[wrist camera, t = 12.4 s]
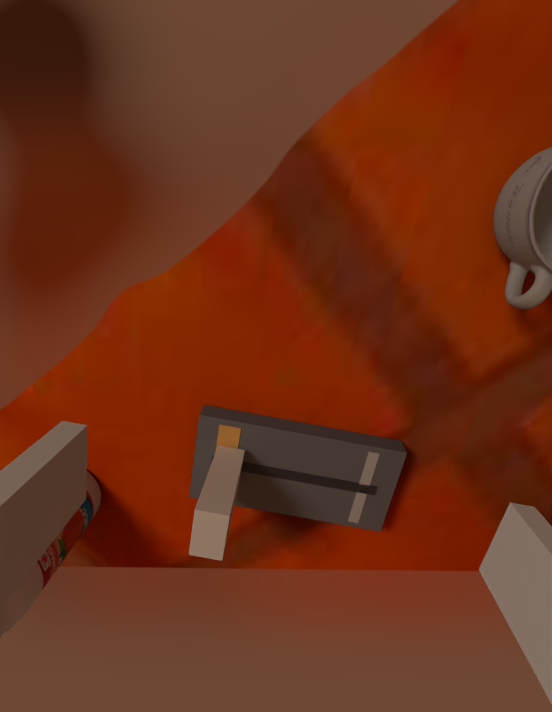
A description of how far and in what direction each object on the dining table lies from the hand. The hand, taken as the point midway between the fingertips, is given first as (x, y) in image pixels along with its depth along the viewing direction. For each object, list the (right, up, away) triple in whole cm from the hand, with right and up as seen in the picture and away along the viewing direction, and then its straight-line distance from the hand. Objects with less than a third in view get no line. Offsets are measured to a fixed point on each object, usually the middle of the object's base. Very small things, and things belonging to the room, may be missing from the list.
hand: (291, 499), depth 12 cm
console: (+2, -8, +33) cm, 34 cm away
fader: (-6, -8, +30) cm, 32 cm away
